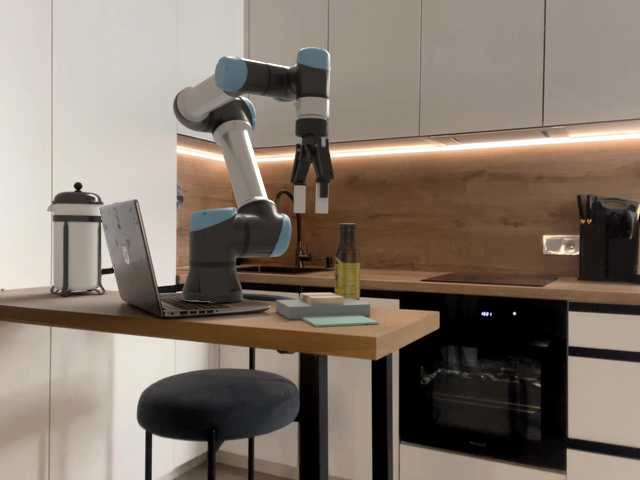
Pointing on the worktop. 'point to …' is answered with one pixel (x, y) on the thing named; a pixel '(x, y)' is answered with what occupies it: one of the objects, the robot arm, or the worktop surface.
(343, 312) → the grey slab
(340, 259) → the sauce bottle
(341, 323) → the mat
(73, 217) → the coffee press
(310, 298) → the cream notepad
